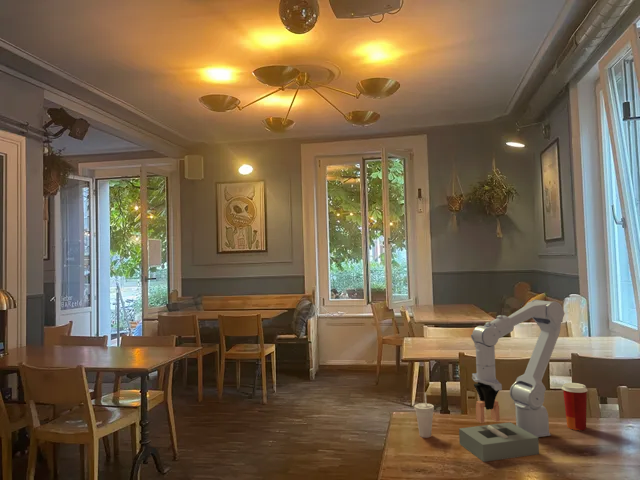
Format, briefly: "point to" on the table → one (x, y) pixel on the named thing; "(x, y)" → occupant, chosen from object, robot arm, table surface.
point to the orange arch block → (480, 411)
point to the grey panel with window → (498, 441)
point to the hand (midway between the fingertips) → (487, 407)
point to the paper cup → (575, 405)
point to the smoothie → (424, 418)
